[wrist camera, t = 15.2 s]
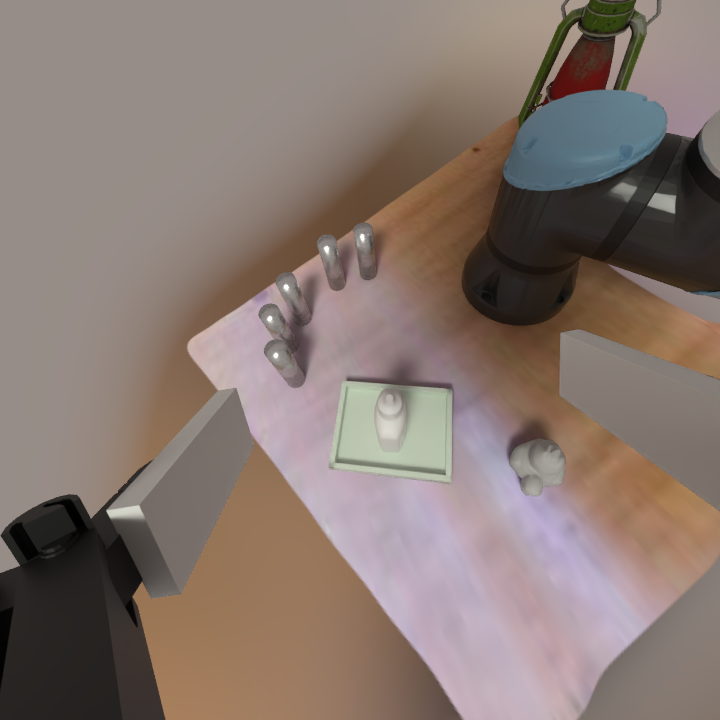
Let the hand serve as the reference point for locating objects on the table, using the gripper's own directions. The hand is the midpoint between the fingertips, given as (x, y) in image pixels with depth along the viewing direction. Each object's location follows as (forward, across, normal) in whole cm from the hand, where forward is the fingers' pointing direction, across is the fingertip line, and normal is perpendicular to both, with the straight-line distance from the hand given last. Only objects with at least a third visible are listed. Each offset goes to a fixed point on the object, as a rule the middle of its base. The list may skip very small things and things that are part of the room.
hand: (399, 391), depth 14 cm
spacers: (+38, -6, -4) cm, 39 cm away
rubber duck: (+20, +15, -22) cm, 33 cm away
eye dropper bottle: (+25, 0, -16) cm, 30 cm away
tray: (+25, 0, -17) cm, 30 cm away
